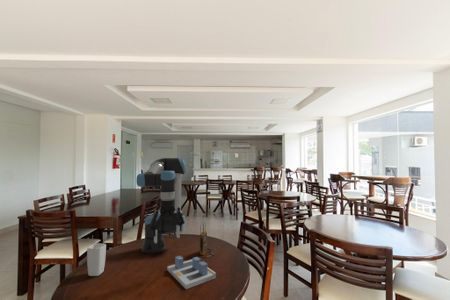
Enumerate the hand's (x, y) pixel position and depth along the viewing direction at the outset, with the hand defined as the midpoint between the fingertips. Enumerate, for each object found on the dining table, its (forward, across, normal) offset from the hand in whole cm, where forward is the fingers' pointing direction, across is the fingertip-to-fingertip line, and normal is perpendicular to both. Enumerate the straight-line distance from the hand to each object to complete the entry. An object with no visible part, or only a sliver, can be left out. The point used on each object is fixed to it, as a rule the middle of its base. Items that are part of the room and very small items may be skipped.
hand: (167, 239), depth 120 cm
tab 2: (+16, +14, -7) cm, 23 cm away
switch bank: (+18, +11, -7) cm, 22 cm away
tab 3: (+16, +14, -14) cm, 26 cm away
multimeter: (+19, +33, +10) cm, 39 cm away
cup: (+19, -30, +23) cm, 42 cm away
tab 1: (+16, +7, 0) cm, 18 cm away
